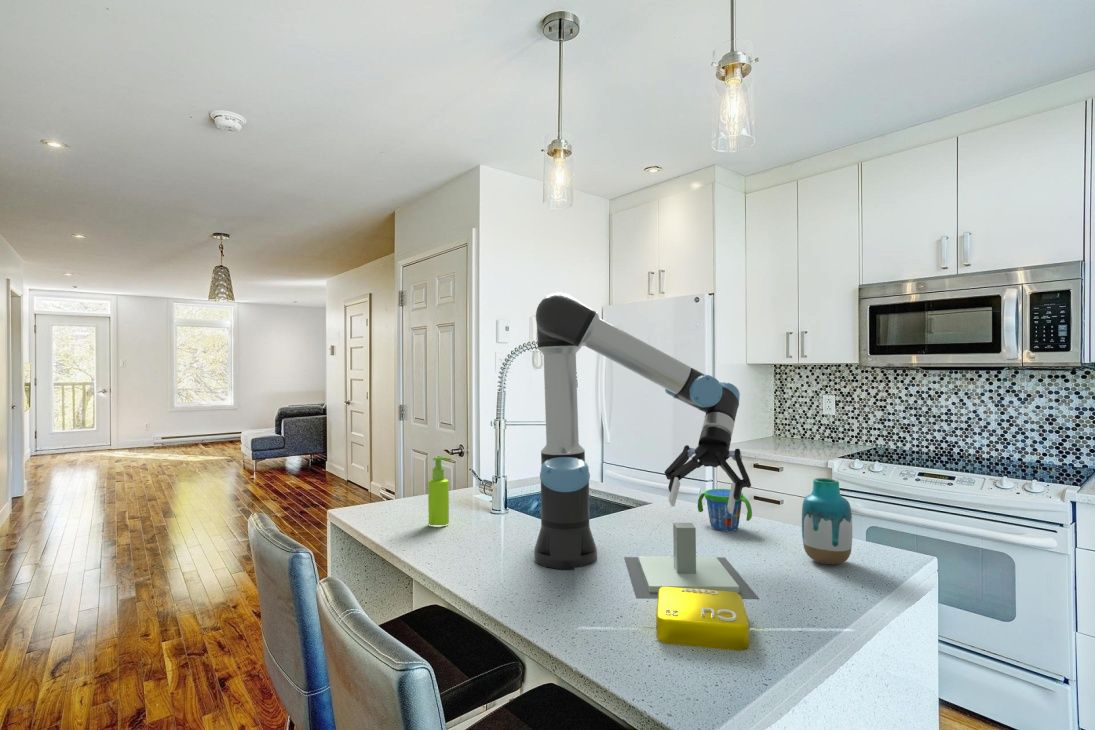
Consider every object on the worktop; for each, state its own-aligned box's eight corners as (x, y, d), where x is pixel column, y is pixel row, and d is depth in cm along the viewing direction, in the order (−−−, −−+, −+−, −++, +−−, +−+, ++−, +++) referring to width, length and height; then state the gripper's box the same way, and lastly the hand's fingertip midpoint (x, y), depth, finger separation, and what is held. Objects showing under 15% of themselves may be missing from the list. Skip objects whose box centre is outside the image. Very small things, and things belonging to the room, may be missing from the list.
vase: (851, 558, 133) (850, 477, 133) (854, 573, 123) (853, 486, 124) (802, 552, 138) (801, 474, 138) (801, 566, 128) (800, 482, 128)
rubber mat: (636, 600, 110) (636, 598, 110) (623, 558, 134) (623, 557, 134) (759, 600, 109) (759, 598, 109) (725, 559, 133) (725, 557, 133)
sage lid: (649, 592, 113) (648, 537, 113) (638, 561, 131) (637, 514, 131) (739, 592, 112) (738, 537, 113) (715, 561, 130) (715, 514, 131)
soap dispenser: (450, 527, 162) (449, 458, 162) (426, 527, 162) (426, 458, 162) (454, 522, 168) (453, 455, 168) (431, 522, 168) (430, 455, 168)
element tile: (740, 614, 104) (740, 588, 104) (751, 654, 90) (750, 624, 90) (658, 607, 108) (658, 582, 108) (656, 645, 93) (655, 616, 93)
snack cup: (690, 525, 162) (689, 490, 162) (711, 519, 168) (711, 485, 169) (738, 538, 150) (738, 500, 150) (759, 530, 156) (759, 494, 156)
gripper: (770, 446, 138) (759, 522, 125) (672, 440, 151) (653, 509, 138) (766, 427, 133) (753, 504, 121) (665, 423, 146) (644, 491, 134)
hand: (699, 506), depth 129 cm, fingers open, 13 cm apart
